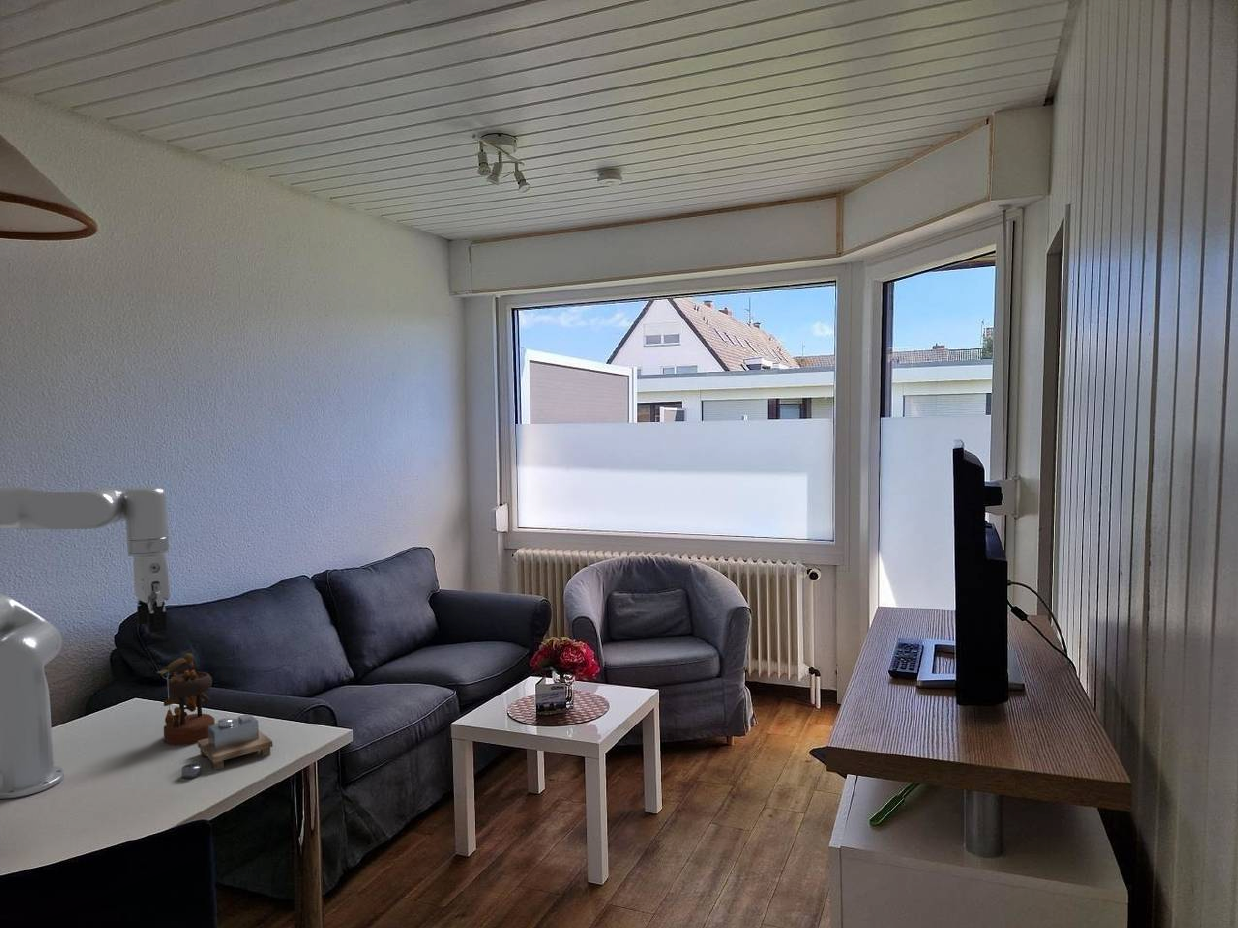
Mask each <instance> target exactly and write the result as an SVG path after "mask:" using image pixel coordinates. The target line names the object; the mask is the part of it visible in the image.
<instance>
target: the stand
mask: <svg viewBox="0 0 1238 928" xmlns="http://www.w3.org/2000/svg"><path fill="white" fill-rule="evenodd" d="M197 747H198V749H199V750H200V755H201V756H202V757H207V758H208V759H209V761H211V763H212V768H213V770H215V771H217V770H220V769H224V767H225V766H224V761H226V760H229V759H233V758H236V757H240V756H243V755H247V754H251V753H255V752H258V751H259V753H260V756H262V757H266V756H271V748H272V747H273V740H272V739H270V738H269V737H268V736H266V735H265V733H263V732H262V731H261V730H259V739H256V740H252V741H249V742H245V743H241V744H237V745H234V746H230V747H226V748H223V749H219V750H214V749H213V748H212V747H211V746H210V745H209V744H208V738H207V739H203V740H199V741H198V742H197Z"/></svg>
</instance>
